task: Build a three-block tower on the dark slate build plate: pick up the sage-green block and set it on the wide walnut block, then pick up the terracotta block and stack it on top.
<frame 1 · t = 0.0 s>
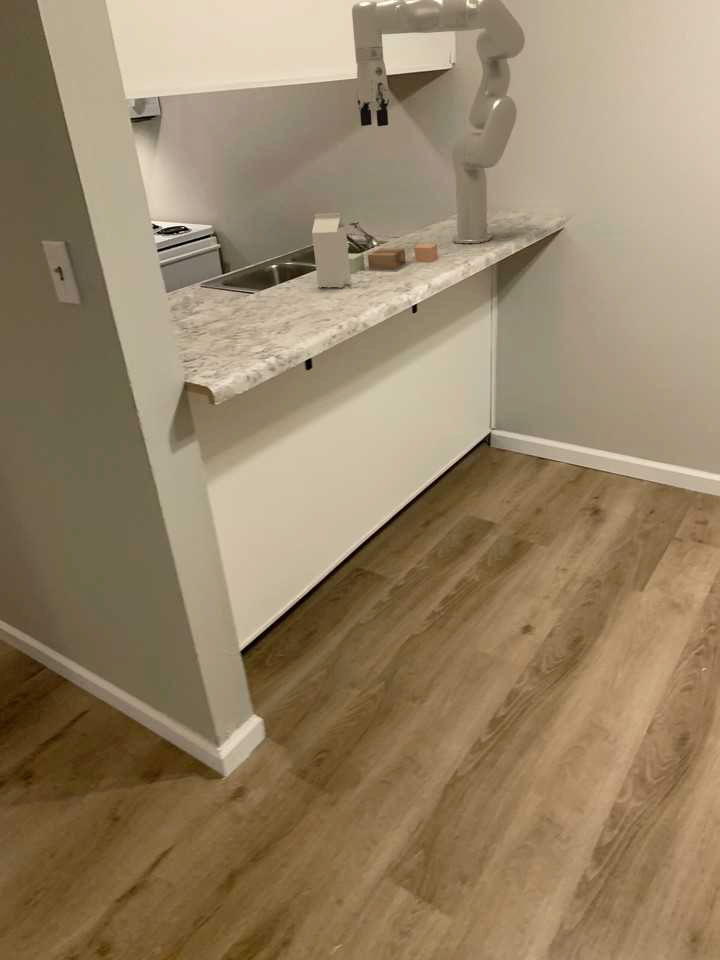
hand: (374, 125, 208), 37 cm above the countertop, tool pointing down, fingers open, 9 cm apart
terracotta brick: (426, 263, 217), on the countertop
sage brick: (351, 273, 214), on the countertop
milk carton: (335, 285, 204), on the countertop
build plate: (387, 268, 215), on the countertop
walnut brick: (387, 265, 214), point 1 cm above the countertop, touching build plate
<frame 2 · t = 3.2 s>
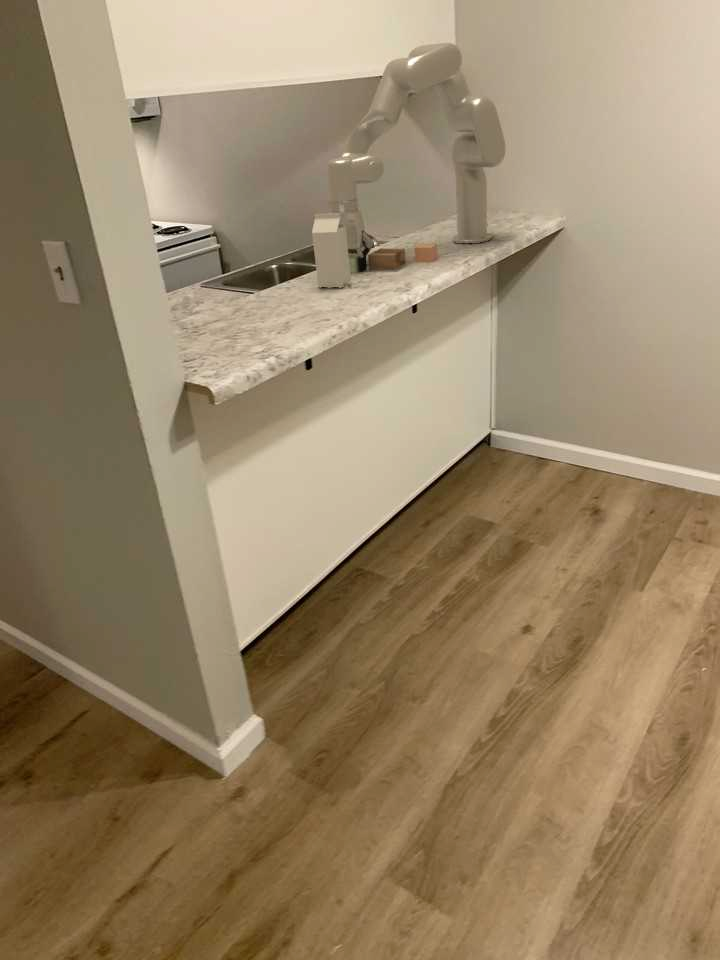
hand: (351, 269, 214), 1 cm above the countertop, tool pointing down, fingers open, 7 cm apart
nothing on the countertop moved.
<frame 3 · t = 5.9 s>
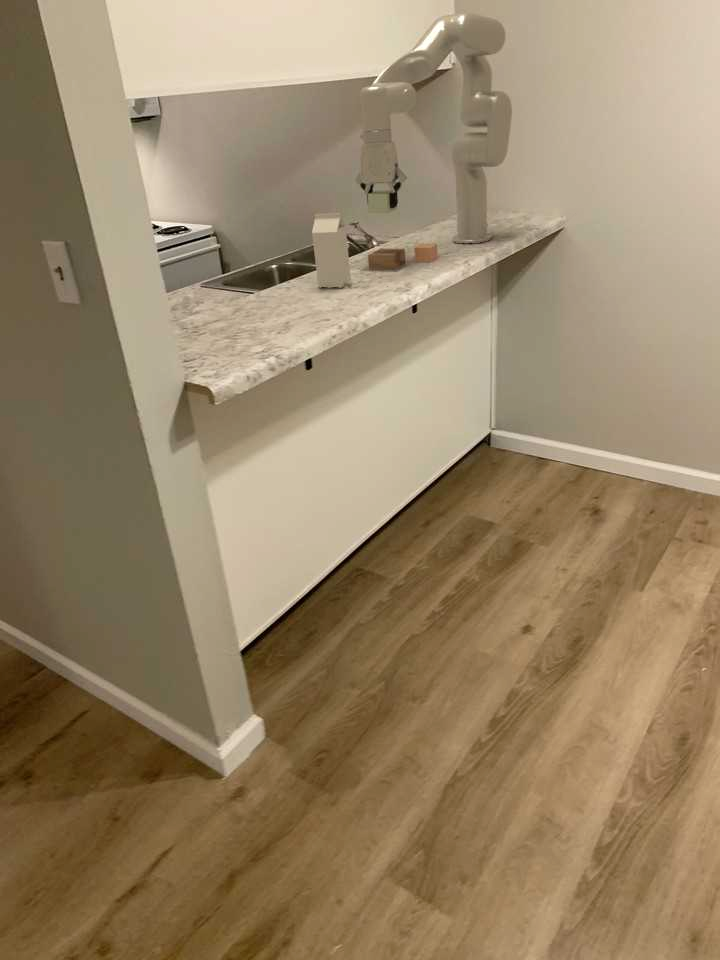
hand: (382, 206, 206), 17 cm above the countertop, tool pointing down, fingers closed on sage brick, 6 cm apart
sage brick: (383, 211, 207), point 16 cm above the countertop, touching gripper
everything else where it was.
when the fingers open (7 cm above the countertop, at t = 8.3 s): sage brick stays where it is, resting on walnut brick.
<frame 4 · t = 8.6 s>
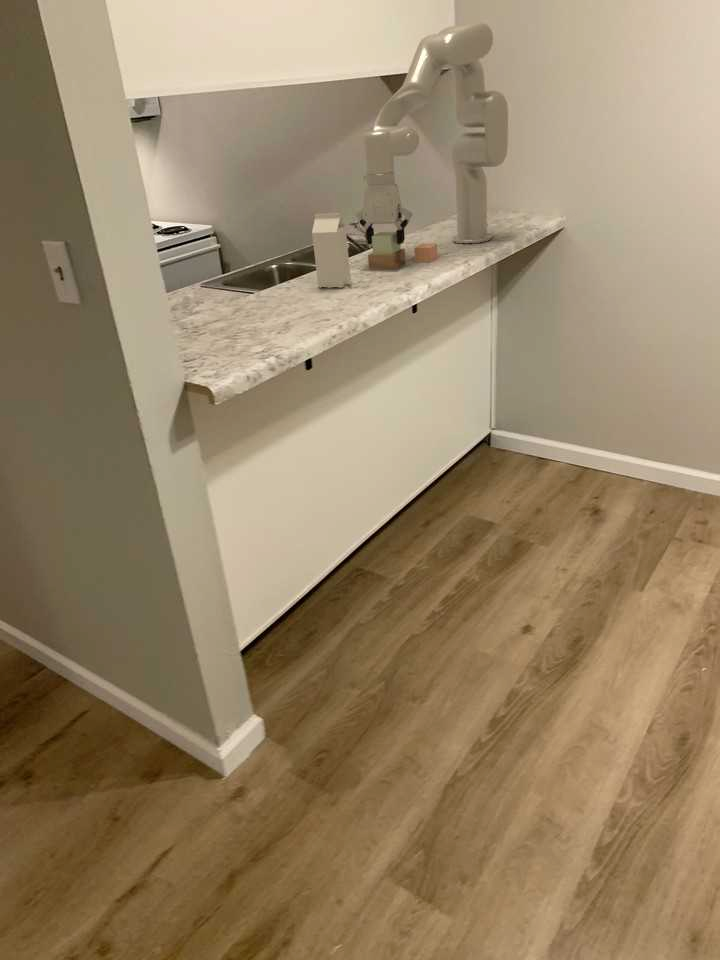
hand: (385, 243, 211), 7 cm above the countertop, tool pointing down, fingers open, 9 cm apart
sage brick: (387, 251, 212), point 5 cm above the countertop, touching walnut brick
walnut brick: (387, 265, 214), point 1 cm above the countertop, touching build plate, sage brick
everything else where it was.
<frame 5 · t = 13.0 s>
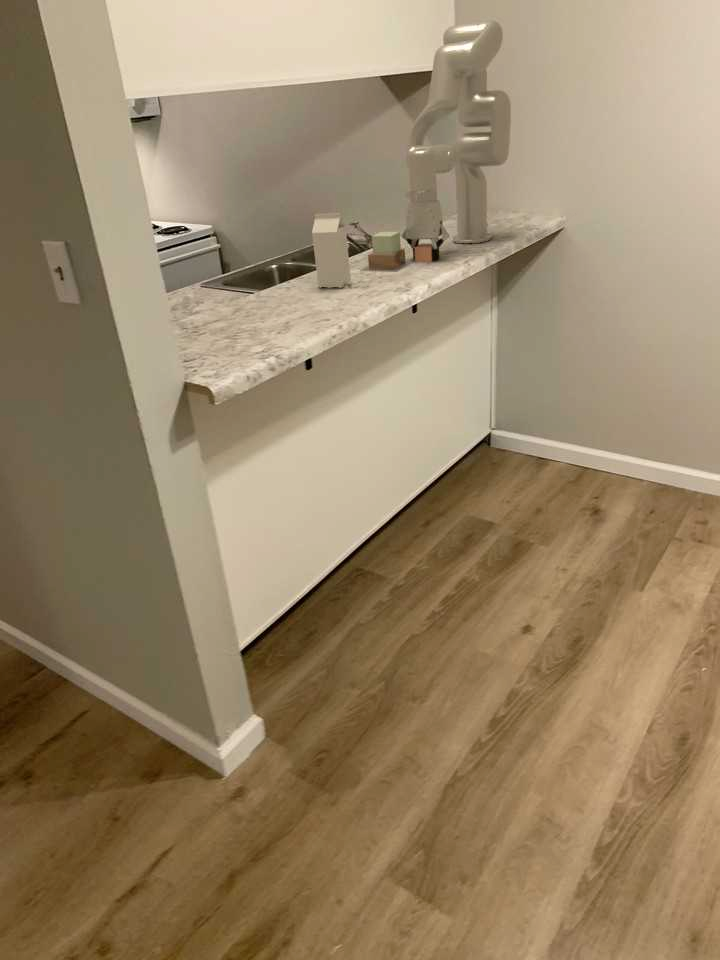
hand: (426, 260, 216), 0 cm above the countertop, tool pointing down, fingers closed on terracotta brick, 5 cm apart
terracotta brick: (426, 262, 217), on the countertop, touching gripper
everything else where it was.
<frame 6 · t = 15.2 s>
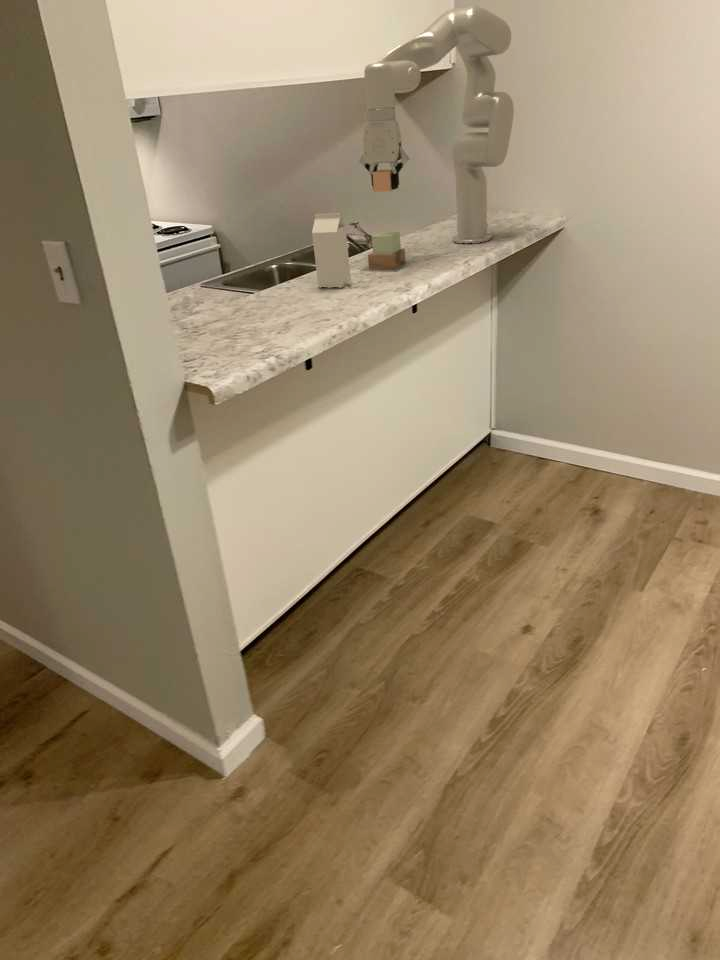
hand: (385, 188, 204), 22 cm above the countertop, tool pointing down, fingers closed on terracotta brick, 5 cm apart
terracotta brick: (385, 190, 204), point 22 cm above the countertop, touching gripper
everything else where it was.
when the fingers open (11 cm above the countertop, at t = 17.6 s): terracotta brick drops 1 cm, resting on sage brick.
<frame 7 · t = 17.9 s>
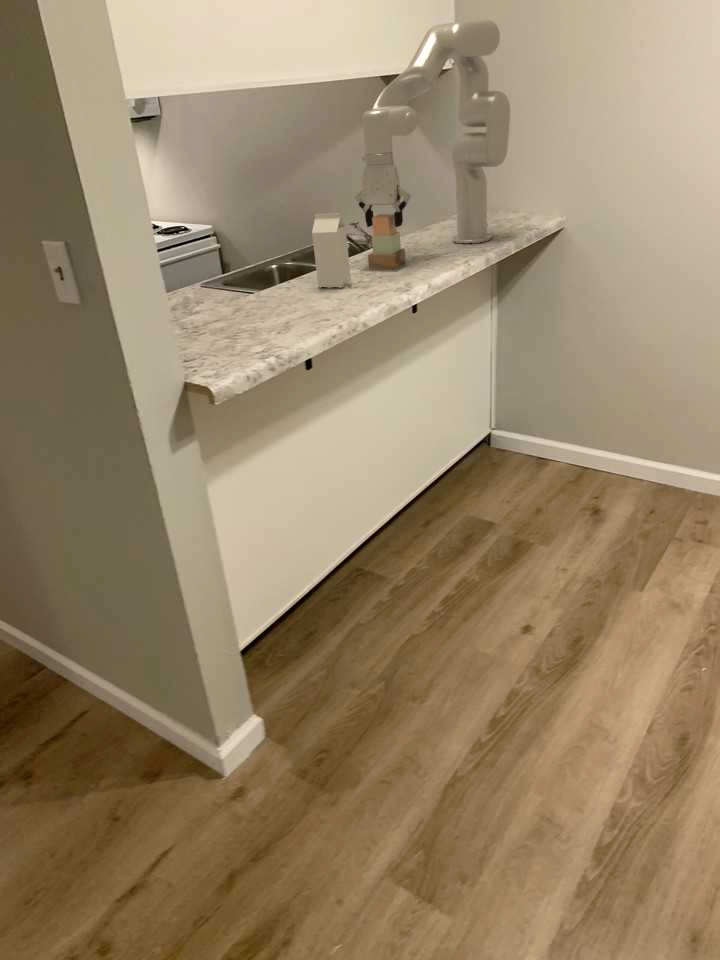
hand: (384, 225, 209), 12 cm above the countertop, tool pointing down, fingers open, 8 cm apart
terracotta brick: (385, 234, 210), point 10 cm above the countertop, touching sage brick
sage brick: (387, 251, 212), point 5 cm above the countertop, touching terracotta brick, walnut brick
everything else where it was.
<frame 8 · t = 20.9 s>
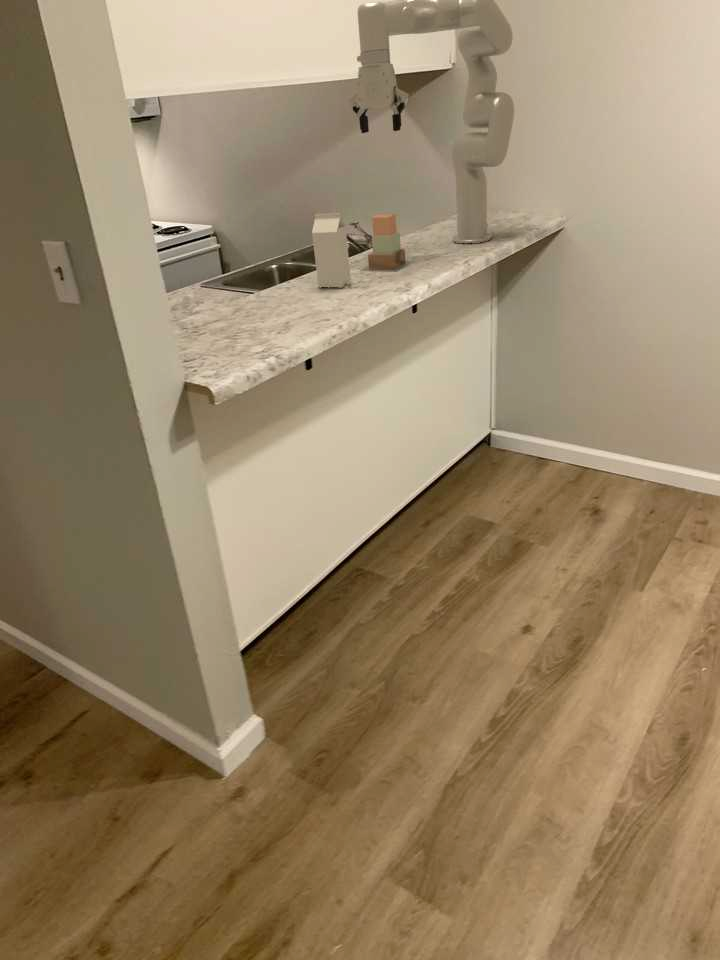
hand: (380, 131, 198), 36 cm above the countertop, tool pointing down, fingers open, 9 cm apart
nothing on the countertop moved.
at the end: sage brick 0.2 cm off-centre on the walnut brick, point 4.0 cm above the walnut brick's base; terracotta brick 0.1 cm off-centre on the sage brick, point 5.0 cm above the sage brick's base; terracotta brick tilted 0° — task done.
